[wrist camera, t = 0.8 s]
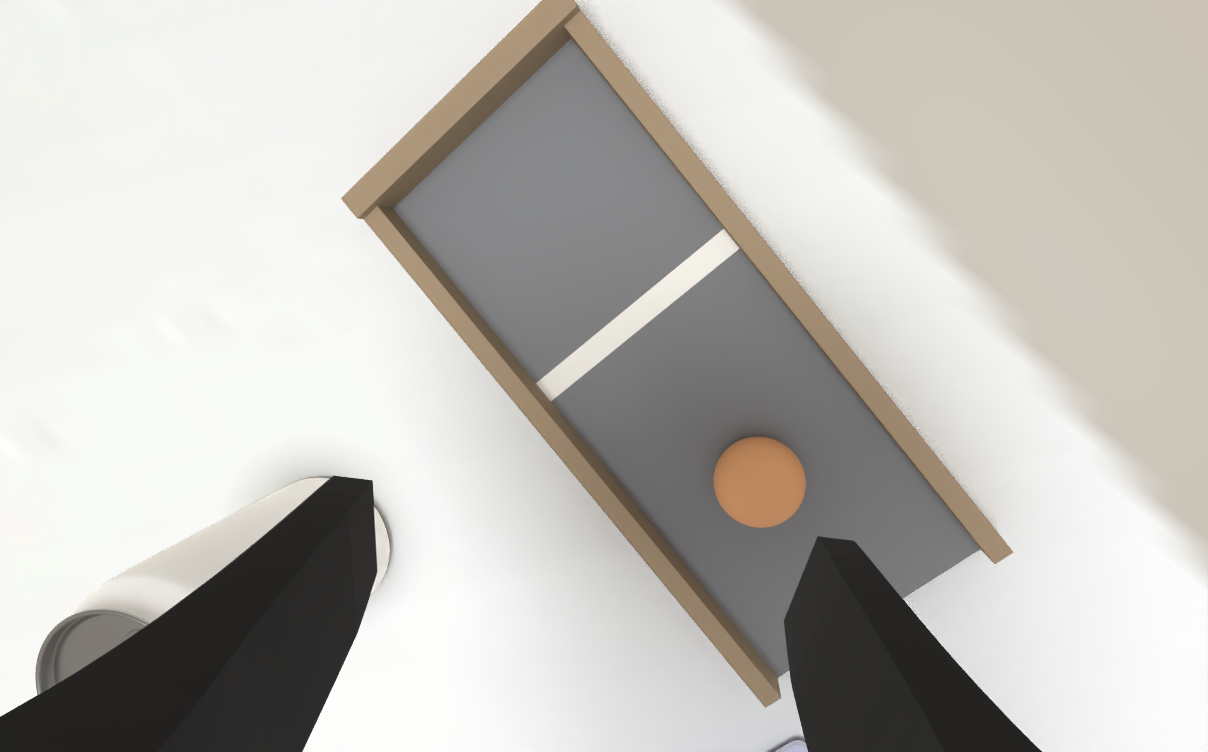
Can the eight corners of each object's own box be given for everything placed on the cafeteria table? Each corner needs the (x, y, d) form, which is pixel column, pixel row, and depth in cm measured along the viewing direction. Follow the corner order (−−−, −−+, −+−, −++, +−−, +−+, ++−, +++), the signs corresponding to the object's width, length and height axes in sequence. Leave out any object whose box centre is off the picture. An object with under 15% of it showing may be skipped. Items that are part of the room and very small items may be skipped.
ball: (816, 476, 28) (832, 506, 24) (748, 524, 28) (753, 560, 25) (763, 410, 28) (772, 430, 24) (695, 460, 28) (694, 487, 25)
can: (420, 534, 31) (252, 694, 20) (346, 629, 33) (148, 831, 21) (312, 446, 32) (81, 553, 20) (243, 545, 33) (-11, 699, 21)
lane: (991, 532, 28) (1019, 557, 25) (761, 679, 30) (766, 715, 28) (573, 8, 27) (560, -18, 24) (371, 203, 29) (341, 198, 27)
